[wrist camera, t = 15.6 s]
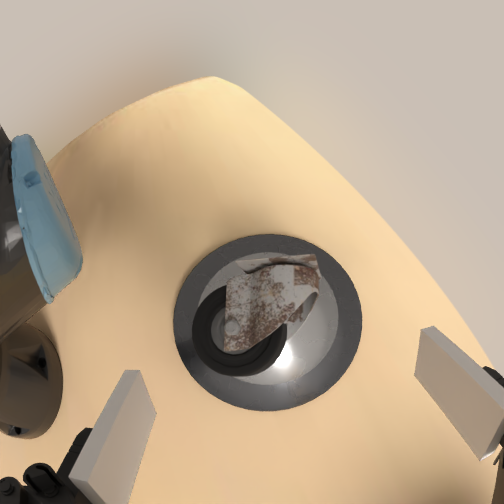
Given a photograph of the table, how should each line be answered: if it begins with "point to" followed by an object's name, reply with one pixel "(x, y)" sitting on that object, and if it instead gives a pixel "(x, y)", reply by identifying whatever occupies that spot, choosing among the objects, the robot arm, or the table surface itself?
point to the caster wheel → (255, 314)
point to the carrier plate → (296, 348)
